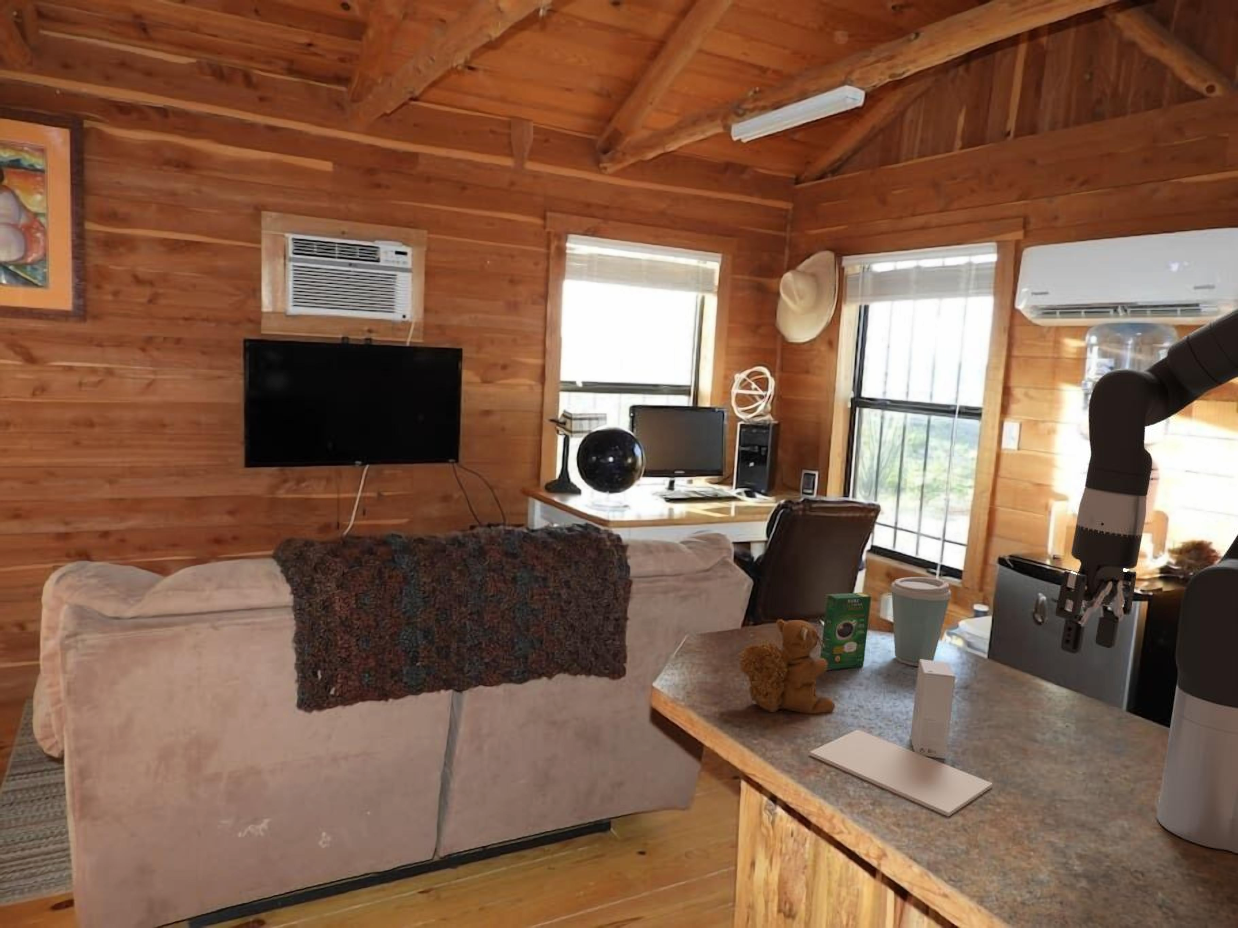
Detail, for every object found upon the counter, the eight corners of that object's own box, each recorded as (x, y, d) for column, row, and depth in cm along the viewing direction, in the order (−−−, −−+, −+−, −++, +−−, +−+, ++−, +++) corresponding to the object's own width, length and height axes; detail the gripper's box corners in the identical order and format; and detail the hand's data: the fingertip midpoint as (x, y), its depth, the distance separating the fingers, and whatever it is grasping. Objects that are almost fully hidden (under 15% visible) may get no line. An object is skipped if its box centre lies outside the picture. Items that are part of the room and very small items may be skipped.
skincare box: (946, 759, 124) (956, 676, 122) (914, 755, 124) (923, 672, 123) (940, 741, 130) (949, 661, 128) (909, 737, 130) (918, 657, 129)
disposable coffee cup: (891, 668, 158) (900, 586, 156) (876, 648, 169) (884, 570, 167) (952, 673, 158) (961, 590, 156) (932, 652, 169) (941, 574, 167)
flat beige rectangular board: (992, 786, 116) (992, 783, 116) (948, 816, 108) (948, 812, 108) (857, 732, 131) (857, 729, 131) (809, 755, 122) (809, 751, 122)
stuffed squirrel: (839, 711, 138) (847, 629, 136) (763, 723, 132) (770, 637, 130) (800, 687, 147) (807, 610, 145) (727, 697, 141) (733, 616, 139)
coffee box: (854, 661, 161) (861, 590, 160) (865, 666, 159) (872, 594, 157) (818, 665, 158) (825, 593, 156) (828, 671, 155) (835, 598, 154)
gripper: (1110, 533, 108) (1087, 664, 109) (1166, 532, 116) (1144, 653, 117) (1050, 520, 114) (1029, 644, 115) (1108, 520, 122) (1087, 635, 124)
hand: (1087, 648), depth 116 cm, fingers open, 8 cm apart
